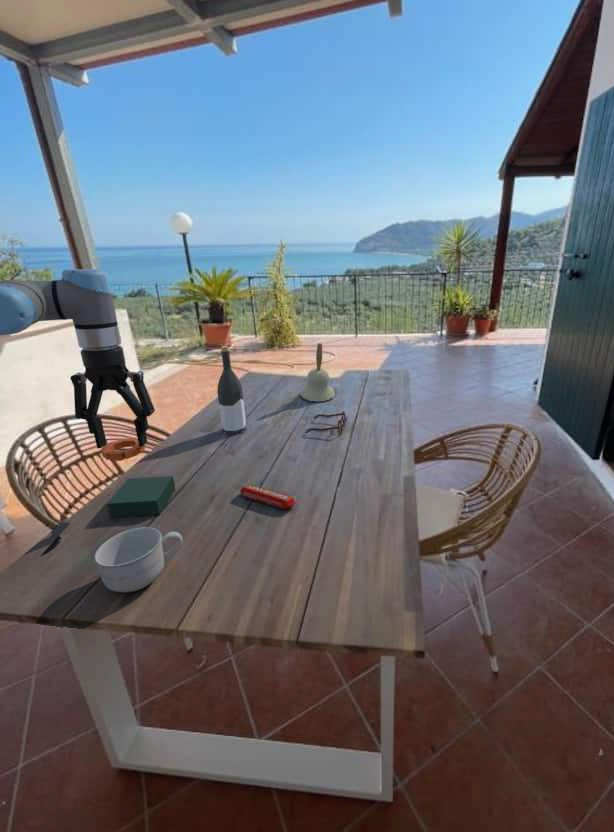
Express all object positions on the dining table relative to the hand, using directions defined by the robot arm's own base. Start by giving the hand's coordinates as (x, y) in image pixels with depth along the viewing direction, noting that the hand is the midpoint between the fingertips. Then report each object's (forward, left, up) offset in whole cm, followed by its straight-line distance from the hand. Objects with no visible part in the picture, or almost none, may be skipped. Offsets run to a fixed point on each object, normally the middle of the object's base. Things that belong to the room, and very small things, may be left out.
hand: (122, 444), depth 89 cm
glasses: (+47, +42, -17) cm, 65 cm away
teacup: (+11, -23, -17) cm, 31 cm away
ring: (0, 0, -2) cm, 2 cm away
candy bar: (+31, -1, -17) cm, 36 cm away
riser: (+1, +2, -17) cm, 17 cm away
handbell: (+45, +76, -17) cm, 90 cm away
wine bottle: (+15, +44, -17) cm, 49 cm away
